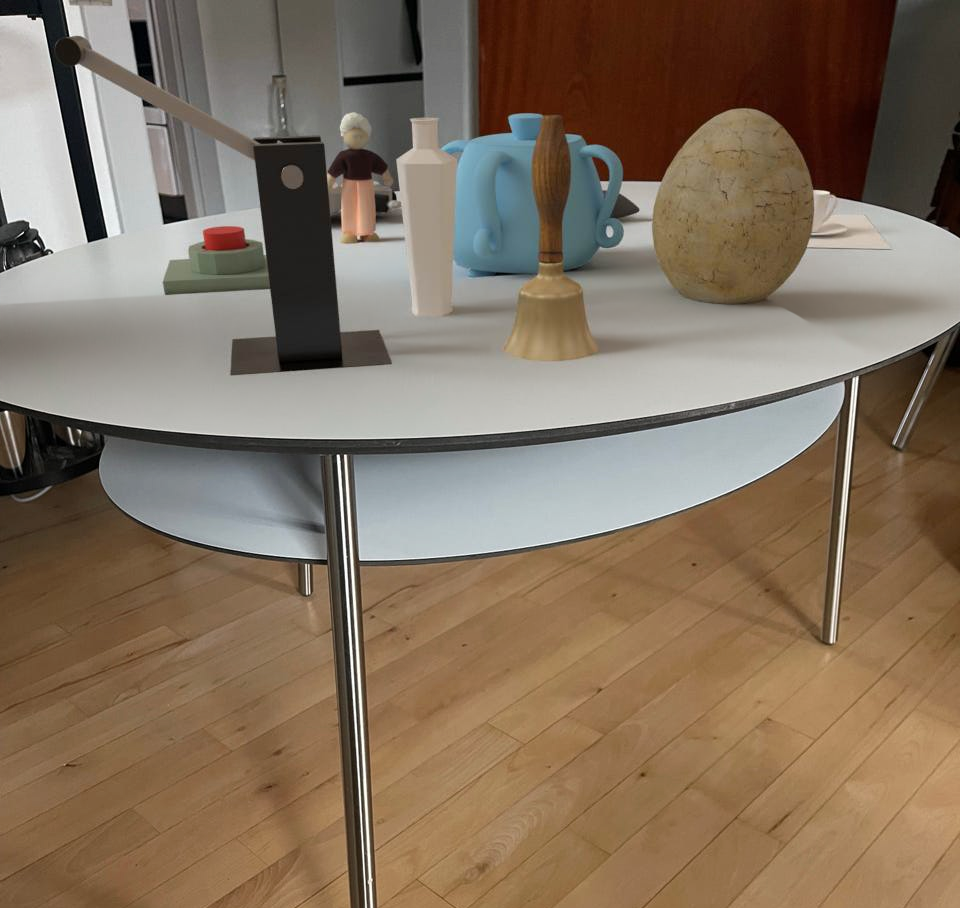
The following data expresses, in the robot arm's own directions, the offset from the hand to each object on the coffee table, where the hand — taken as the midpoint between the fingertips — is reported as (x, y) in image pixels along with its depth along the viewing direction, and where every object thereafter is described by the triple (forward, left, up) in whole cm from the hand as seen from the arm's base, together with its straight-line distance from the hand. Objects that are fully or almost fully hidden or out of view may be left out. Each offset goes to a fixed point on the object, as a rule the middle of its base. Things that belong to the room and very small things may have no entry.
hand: (91, 5), depth 76 cm
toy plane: (+43, +36, -23) cm, 60 cm away
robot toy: (+19, +41, -23) cm, 50 cm away
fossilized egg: (+48, -10, -23) cm, 54 cm away
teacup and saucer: (+68, +21, -23) cm, 75 cm away
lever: (+7, -19, -7) cm, 21 cm away
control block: (+7, +6, -22) cm, 24 cm away
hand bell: (+30, -22, -23) cm, 44 cm away
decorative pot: (+35, +8, -23) cm, 42 cm away
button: (+7, +6, -19) cm, 21 cm away
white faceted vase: (+23, -10, -23) cm, 34 cm away
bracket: (+13, -19, -22) cm, 32 cm away
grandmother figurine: (+21, +27, -23) cm, 41 cm away
